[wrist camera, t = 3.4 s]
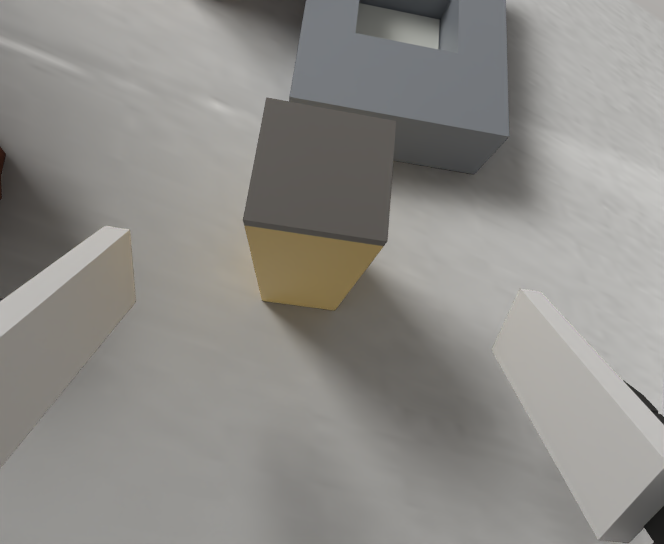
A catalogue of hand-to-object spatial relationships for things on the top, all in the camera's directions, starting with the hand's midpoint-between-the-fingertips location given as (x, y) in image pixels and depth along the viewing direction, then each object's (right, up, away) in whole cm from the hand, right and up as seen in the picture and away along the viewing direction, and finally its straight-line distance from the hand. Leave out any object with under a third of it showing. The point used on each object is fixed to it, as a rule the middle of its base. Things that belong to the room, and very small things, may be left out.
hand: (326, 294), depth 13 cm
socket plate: (+4, +16, +13) cm, 21 cm away
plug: (-1, +1, +8) cm, 9 cm away
